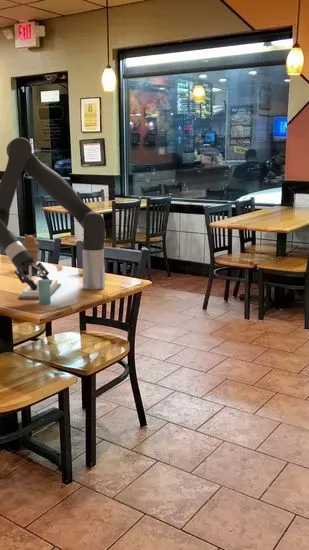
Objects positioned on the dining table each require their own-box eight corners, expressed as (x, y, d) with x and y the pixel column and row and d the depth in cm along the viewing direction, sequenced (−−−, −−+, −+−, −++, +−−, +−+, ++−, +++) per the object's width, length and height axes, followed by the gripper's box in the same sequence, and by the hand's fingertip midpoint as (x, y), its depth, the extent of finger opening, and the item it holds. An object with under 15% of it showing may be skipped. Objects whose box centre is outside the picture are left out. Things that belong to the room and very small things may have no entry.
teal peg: (51, 301, 211) (51, 279, 209) (49, 304, 207) (48, 281, 205) (40, 301, 211) (40, 279, 209) (37, 304, 207) (37, 281, 205)
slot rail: (60, 285, 239) (60, 279, 238) (48, 299, 214) (47, 292, 214) (34, 284, 239) (34, 278, 238) (18, 298, 214) (18, 292, 214)
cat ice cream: (21, 269, 272) (20, 234, 268) (24, 267, 279) (22, 232, 276) (39, 269, 273) (38, 234, 269) (41, 267, 280) (40, 232, 276)
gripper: (11, 251, 203) (36, 284, 200) (35, 247, 215) (59, 278, 212) (1, 264, 206) (25, 296, 203) (26, 258, 218) (49, 289, 216)
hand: (43, 287), depth 208 cm, fingers open, 8 cm apart
